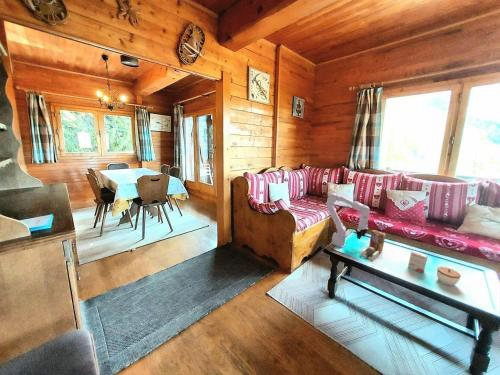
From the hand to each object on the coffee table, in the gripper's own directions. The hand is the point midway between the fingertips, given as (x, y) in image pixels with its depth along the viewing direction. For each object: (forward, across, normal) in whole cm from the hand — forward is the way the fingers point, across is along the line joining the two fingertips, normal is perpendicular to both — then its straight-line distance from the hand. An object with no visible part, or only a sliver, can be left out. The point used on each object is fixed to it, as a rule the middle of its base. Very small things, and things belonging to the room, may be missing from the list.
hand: (360, 237), depth 172 cm
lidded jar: (+10, +2, -53) cm, 54 cm away
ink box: (+10, +4, -37) cm, 39 cm away
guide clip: (+10, -6, -6) cm, 14 cm away
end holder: (+10, -4, -10) cm, 15 cm away
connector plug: (+9, -6, -10) cm, 15 cm away
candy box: (+10, +10, -9) cm, 17 cm away
